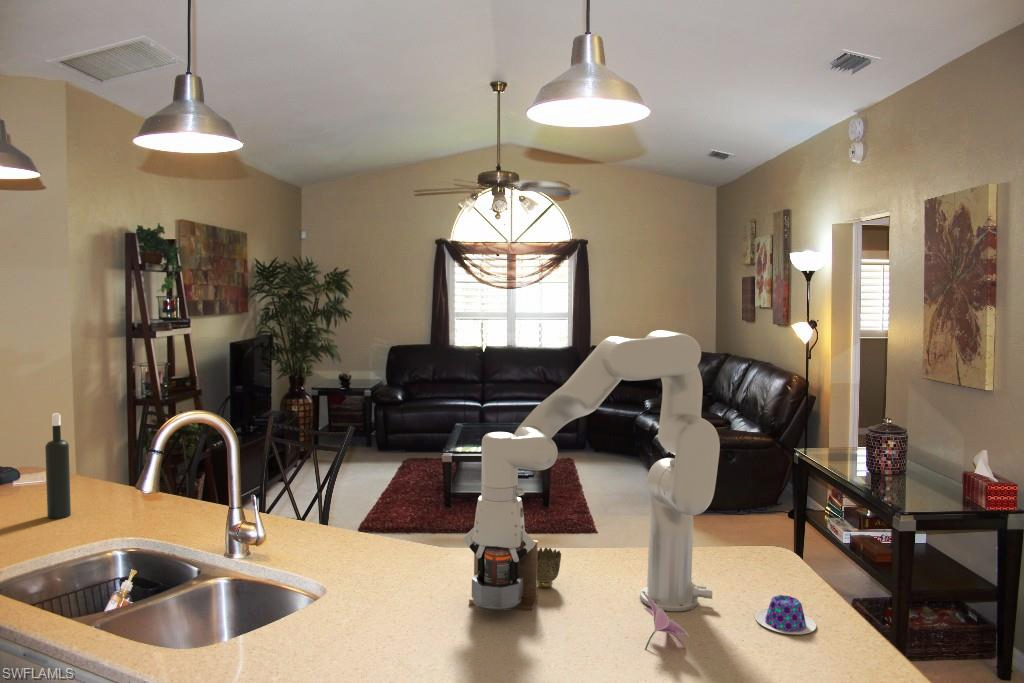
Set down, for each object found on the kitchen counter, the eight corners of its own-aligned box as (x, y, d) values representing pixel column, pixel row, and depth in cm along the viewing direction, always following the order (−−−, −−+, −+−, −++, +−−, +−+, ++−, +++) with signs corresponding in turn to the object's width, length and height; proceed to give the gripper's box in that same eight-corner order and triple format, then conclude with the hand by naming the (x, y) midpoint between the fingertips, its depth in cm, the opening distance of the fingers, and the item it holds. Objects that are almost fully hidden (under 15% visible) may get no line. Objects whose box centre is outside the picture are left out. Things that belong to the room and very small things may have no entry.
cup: (558, 594, 169) (558, 559, 169) (525, 591, 171) (526, 557, 170) (562, 581, 177) (563, 548, 176) (531, 578, 178) (532, 545, 177)
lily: (688, 671, 139) (706, 621, 141) (629, 643, 140) (648, 594, 142) (671, 659, 151) (689, 613, 153) (617, 634, 151) (635, 588, 153)
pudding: (743, 622, 158) (744, 598, 157) (774, 606, 166) (775, 583, 165) (797, 643, 149) (798, 618, 148) (827, 626, 156) (828, 601, 156)
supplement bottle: (518, 590, 158) (519, 537, 157) (498, 598, 154) (499, 544, 153) (497, 582, 162) (498, 530, 162) (478, 590, 158) (478, 537, 157)
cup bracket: (537, 600, 166) (539, 538, 165) (524, 628, 152) (525, 561, 151) (476, 593, 169) (477, 532, 168) (458, 620, 155) (458, 554, 154)
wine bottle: (42, 518, 216) (39, 414, 213) (58, 512, 221) (54, 411, 219) (60, 519, 215) (57, 415, 212) (75, 513, 220) (72, 412, 218)
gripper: (543, 490, 158) (542, 573, 160) (464, 484, 162) (464, 565, 164) (536, 500, 151) (535, 587, 153) (454, 494, 155) (453, 579, 156)
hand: (498, 575), depth 158 cm, fingers closed on supplement bottle, 5 cm apart
